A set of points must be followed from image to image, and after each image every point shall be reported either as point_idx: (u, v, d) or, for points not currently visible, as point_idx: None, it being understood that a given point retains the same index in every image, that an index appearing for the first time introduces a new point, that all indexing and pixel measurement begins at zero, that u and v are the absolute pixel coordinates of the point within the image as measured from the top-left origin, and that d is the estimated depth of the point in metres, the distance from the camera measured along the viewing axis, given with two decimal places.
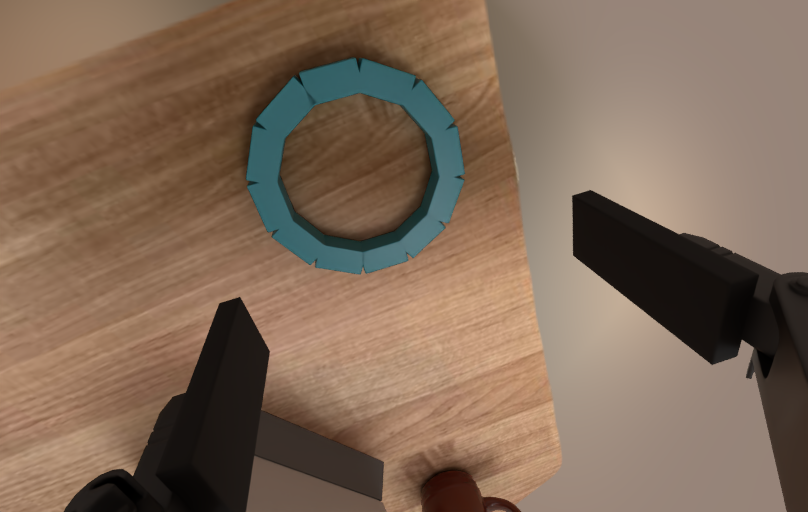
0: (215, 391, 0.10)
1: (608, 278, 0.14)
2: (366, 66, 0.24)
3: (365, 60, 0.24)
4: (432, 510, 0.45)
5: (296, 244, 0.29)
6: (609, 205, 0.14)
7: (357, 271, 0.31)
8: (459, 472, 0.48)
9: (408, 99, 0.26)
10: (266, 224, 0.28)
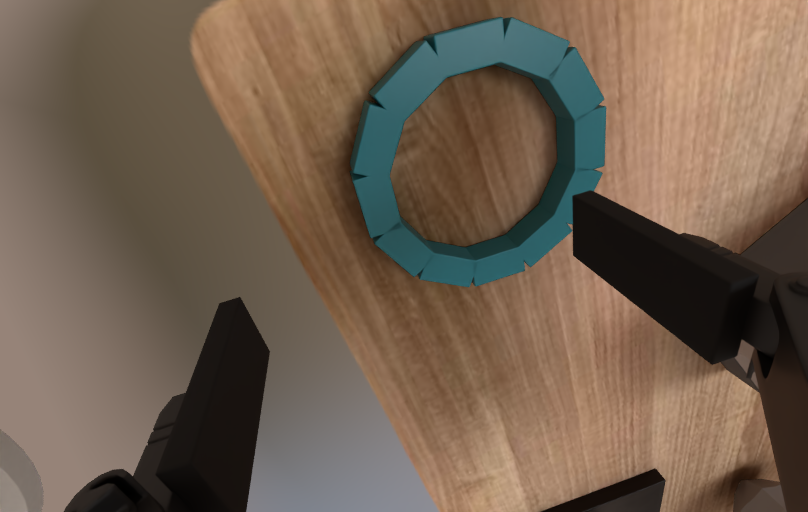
0: (215, 391, 0.10)
1: (607, 278, 0.14)
2: (361, 167, 0.21)
3: (355, 169, 0.21)
4: None
5: (544, 244, 0.26)
6: (609, 205, 0.14)
7: (597, 176, 0.24)
8: None
9: (397, 113, 0.20)
10: (516, 271, 0.26)
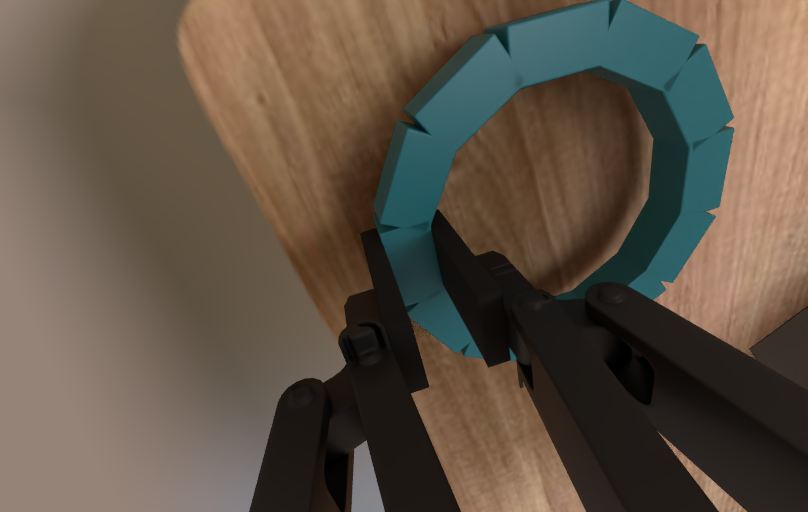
0: None
1: (446, 289, 0.16)
2: (392, 216, 0.15)
3: (383, 219, 0.14)
4: None
5: None
6: (441, 225, 0.15)
7: (708, 220, 0.18)
8: None
9: (447, 140, 0.14)
10: None
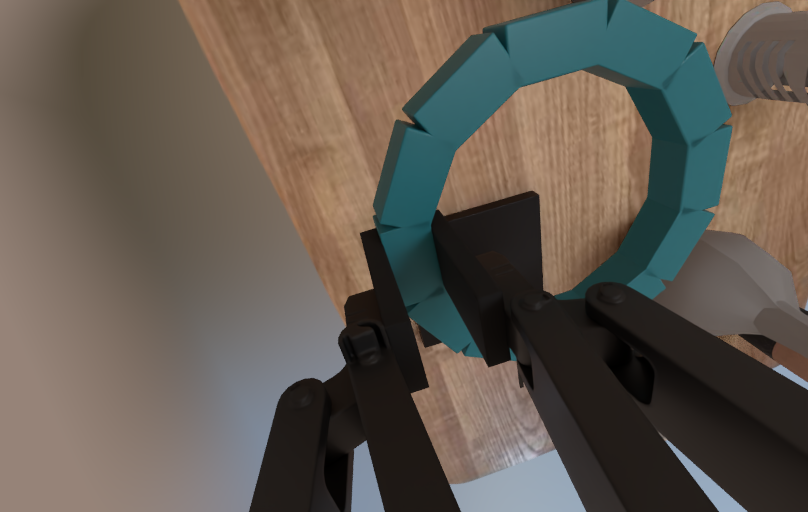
0: (396, 284, 0.13)
1: (446, 289, 0.16)
2: (392, 216, 0.15)
3: (383, 219, 0.14)
4: None
5: None
6: (441, 225, 0.15)
7: (708, 219, 0.18)
8: None
9: (446, 139, 0.14)
10: None
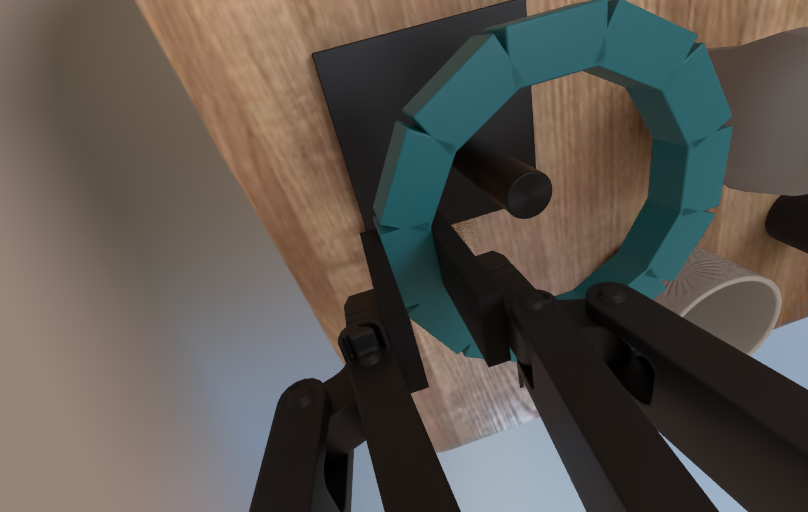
0: None
1: (447, 289, 0.16)
2: (392, 218, 0.15)
3: (383, 220, 0.14)
4: None
5: None
6: (441, 224, 0.15)
7: (708, 219, 0.18)
8: None
9: (446, 140, 0.14)
10: None
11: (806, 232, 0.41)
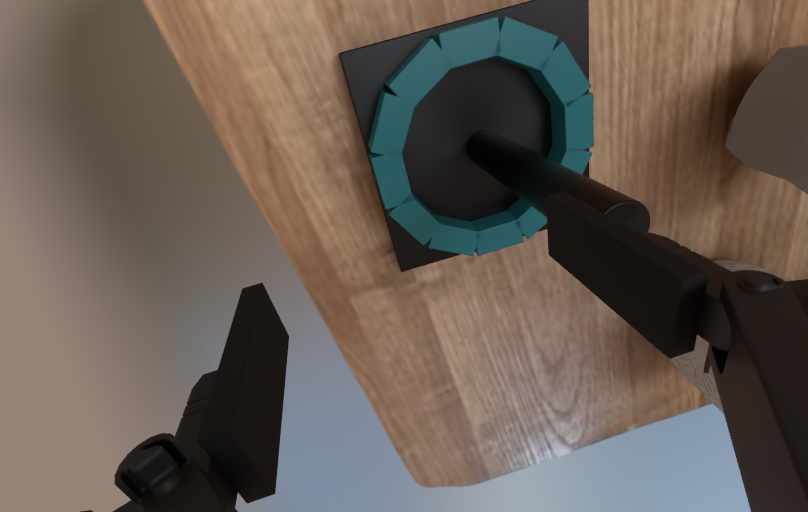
0: (246, 367, 0.11)
1: (579, 276, 0.15)
2: (377, 147, 0.24)
3: (372, 149, 0.24)
4: None
5: (541, 218, 0.29)
6: (579, 206, 0.14)
7: (587, 156, 0.27)
8: None
9: (408, 100, 0.24)
10: (515, 242, 0.29)
11: None
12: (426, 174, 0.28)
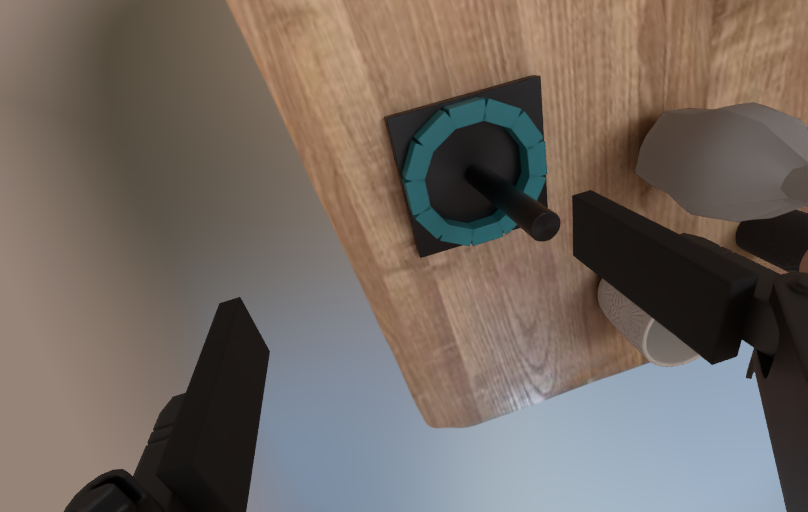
0: (215, 391, 0.10)
1: (608, 278, 0.14)
2: (409, 176, 0.39)
3: (406, 177, 0.39)
4: None
5: None
6: (609, 205, 0.14)
7: (543, 180, 0.42)
8: None
9: (429, 147, 0.38)
10: (497, 237, 0.44)
11: (765, 245, 0.51)
12: (438, 192, 0.42)
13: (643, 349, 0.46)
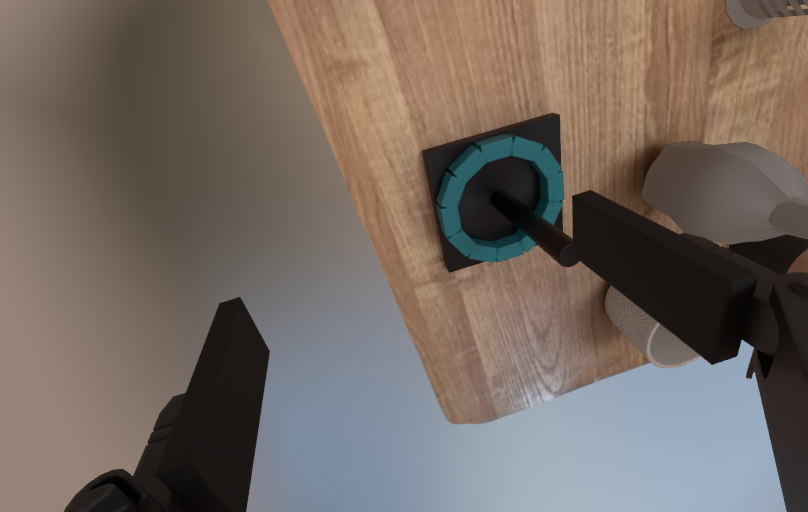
0: (215, 391, 0.10)
1: (608, 278, 0.14)
2: (444, 203, 0.44)
3: (442, 204, 0.44)
4: None
5: None
6: (608, 205, 0.14)
7: (560, 204, 0.47)
8: None
9: (463, 179, 0.43)
10: (519, 254, 0.49)
11: (755, 258, 0.57)
12: (467, 215, 0.47)
13: (647, 353, 0.52)
